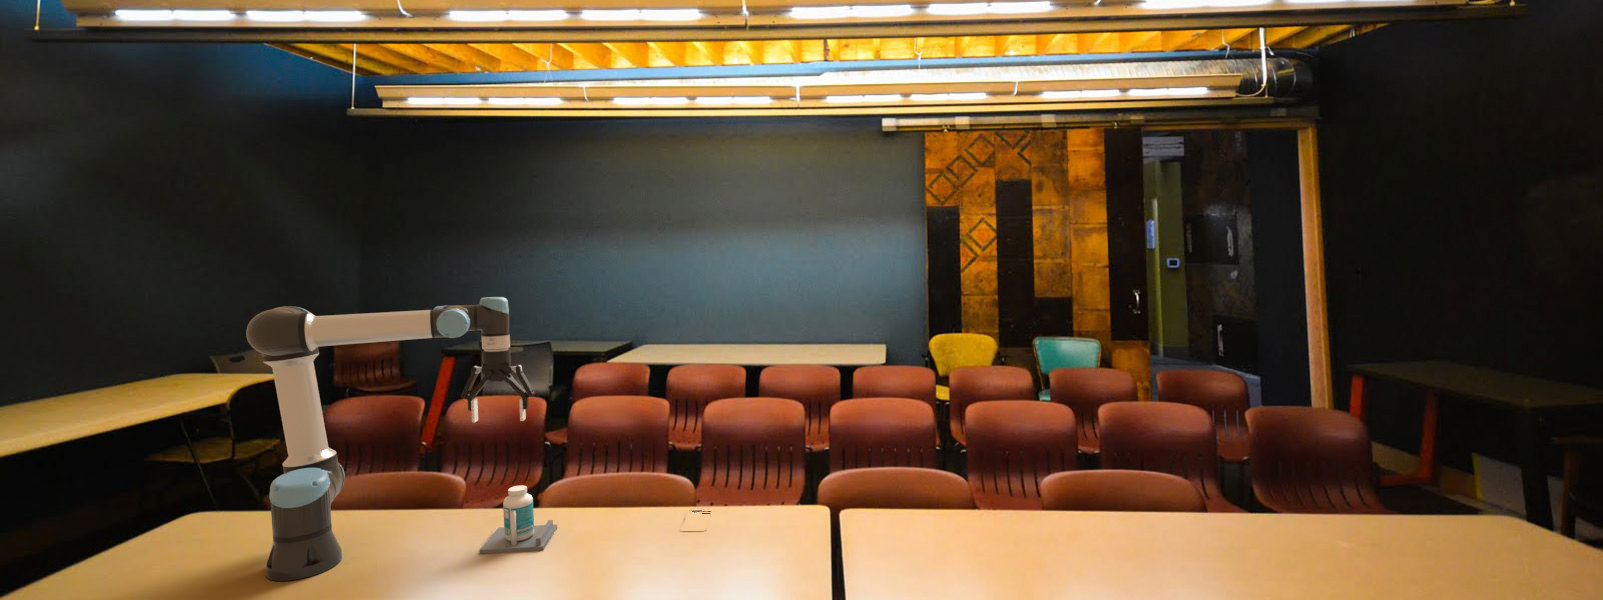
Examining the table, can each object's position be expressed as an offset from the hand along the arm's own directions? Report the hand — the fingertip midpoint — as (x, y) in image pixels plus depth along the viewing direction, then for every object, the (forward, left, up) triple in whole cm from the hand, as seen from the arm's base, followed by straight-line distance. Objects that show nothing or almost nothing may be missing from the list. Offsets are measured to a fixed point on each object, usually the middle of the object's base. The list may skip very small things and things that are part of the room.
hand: (499, 420), depth 192 cm
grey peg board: (+11, -19, -29) cm, 36 cm away
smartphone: (+58, -12, -29) cm, 66 cm away
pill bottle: (+11, -19, -28) cm, 35 cm away
